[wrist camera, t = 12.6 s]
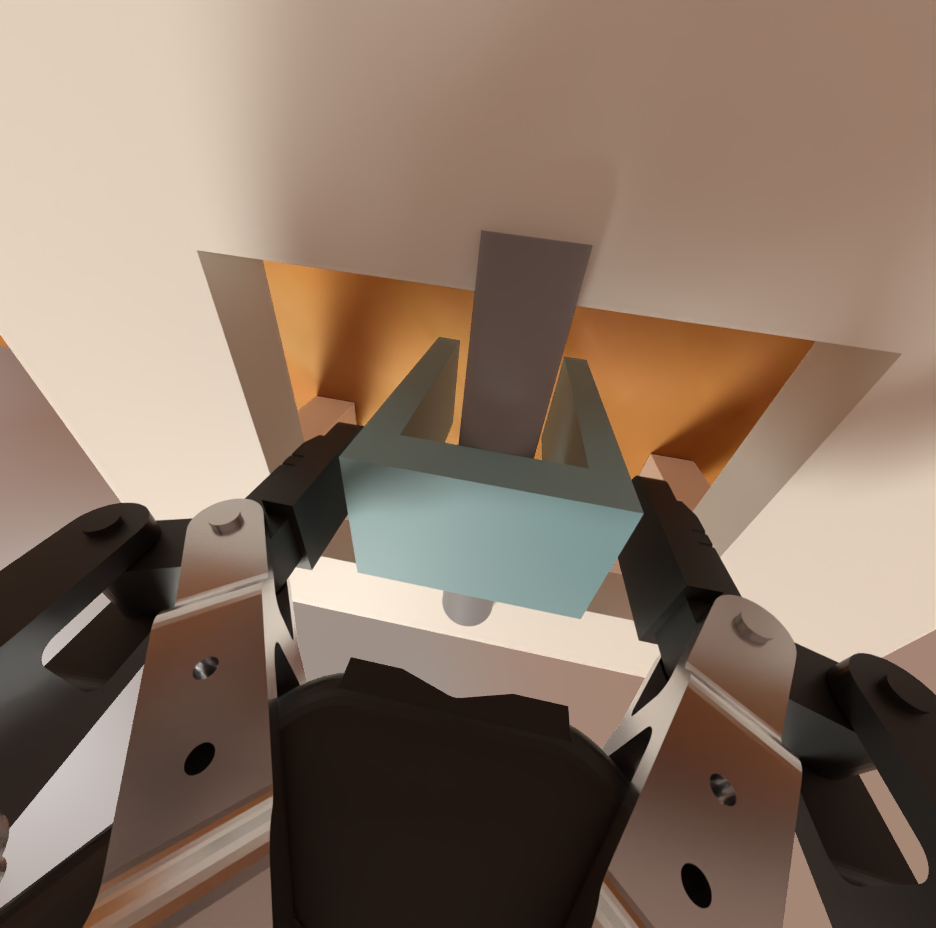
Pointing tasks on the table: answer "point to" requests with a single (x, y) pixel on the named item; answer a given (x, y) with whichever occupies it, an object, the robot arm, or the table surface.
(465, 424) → the cutout shelf
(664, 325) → the table surface
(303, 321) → the table surface
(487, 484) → the teal u-channel bracket
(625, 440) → the table surface
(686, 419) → the table surface
